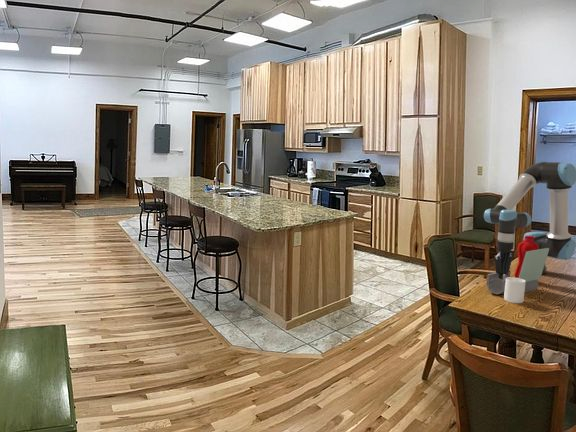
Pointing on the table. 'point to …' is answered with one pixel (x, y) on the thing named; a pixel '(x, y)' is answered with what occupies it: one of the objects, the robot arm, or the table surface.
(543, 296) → the table surface
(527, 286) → the grey long flat pieces
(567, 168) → the robot arm
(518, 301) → the cup
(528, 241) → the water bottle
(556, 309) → the table surface
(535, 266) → the lid
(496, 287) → the mug
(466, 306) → the table surface
